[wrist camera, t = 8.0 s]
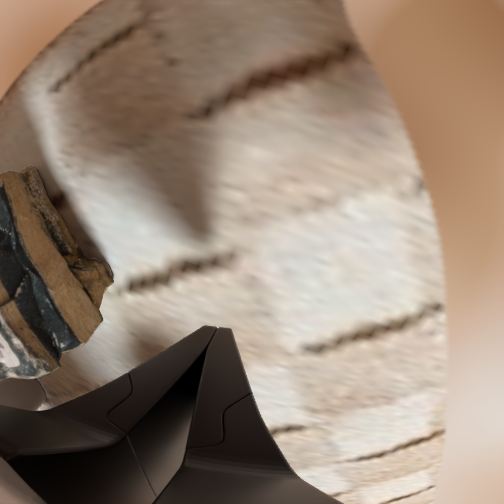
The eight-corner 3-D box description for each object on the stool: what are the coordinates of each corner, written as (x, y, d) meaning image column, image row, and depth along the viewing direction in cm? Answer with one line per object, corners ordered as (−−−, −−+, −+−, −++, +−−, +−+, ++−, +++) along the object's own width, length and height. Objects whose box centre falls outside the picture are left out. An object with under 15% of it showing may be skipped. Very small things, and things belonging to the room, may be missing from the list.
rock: (-23, 217, 12) (-93, 247, 7) (70, 142, 10) (-42, 156, 5) (32, 345, 15) (-22, 398, 9) (143, 328, 13) (78, 418, 7)
